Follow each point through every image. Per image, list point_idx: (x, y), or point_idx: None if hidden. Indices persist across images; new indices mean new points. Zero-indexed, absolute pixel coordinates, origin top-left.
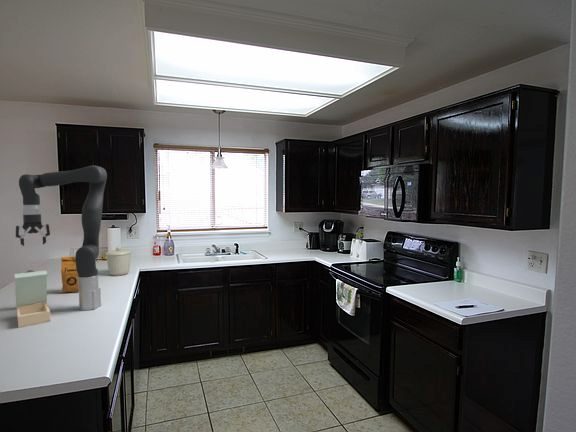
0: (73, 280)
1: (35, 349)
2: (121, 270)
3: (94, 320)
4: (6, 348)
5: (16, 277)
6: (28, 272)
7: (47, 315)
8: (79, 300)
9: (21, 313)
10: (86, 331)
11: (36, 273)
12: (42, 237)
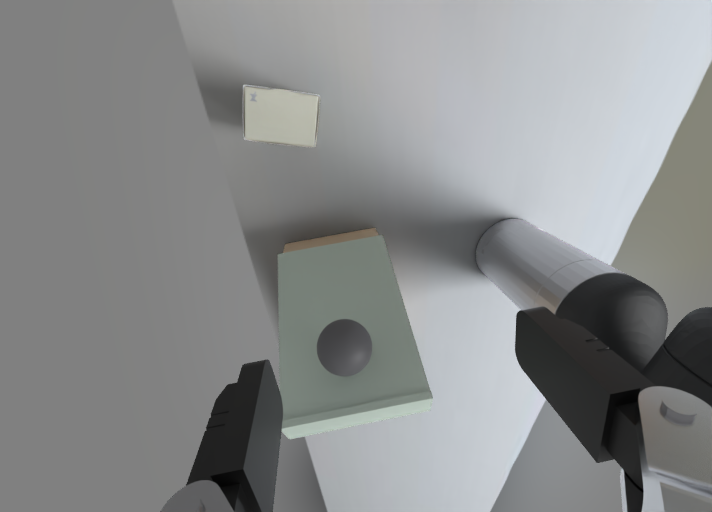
0: None
1: (370, 481)
2: None
3: (493, 375)
4: (315, 461)
5: (295, 436)
6: (338, 375)
7: None
8: (491, 275)
9: None
10: (464, 434)
11: (382, 413)
12: (598, 395)
